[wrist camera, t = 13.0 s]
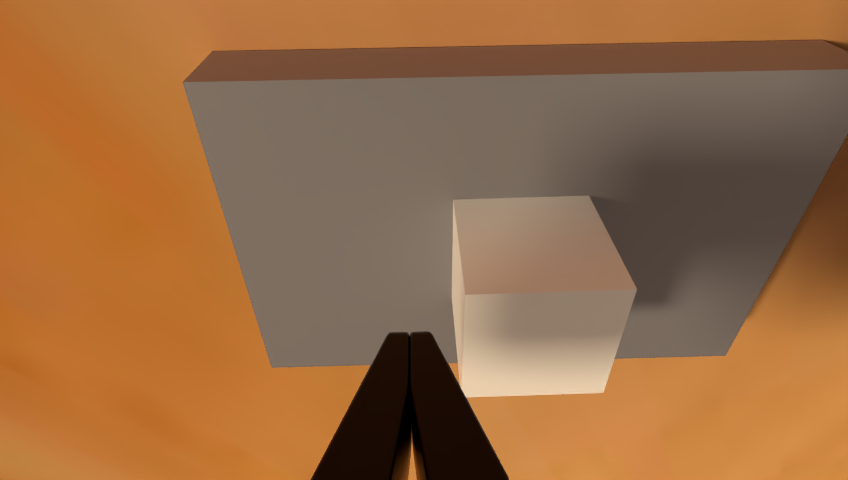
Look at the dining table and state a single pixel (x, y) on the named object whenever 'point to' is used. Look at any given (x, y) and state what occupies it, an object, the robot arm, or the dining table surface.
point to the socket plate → (512, 176)
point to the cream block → (536, 296)
